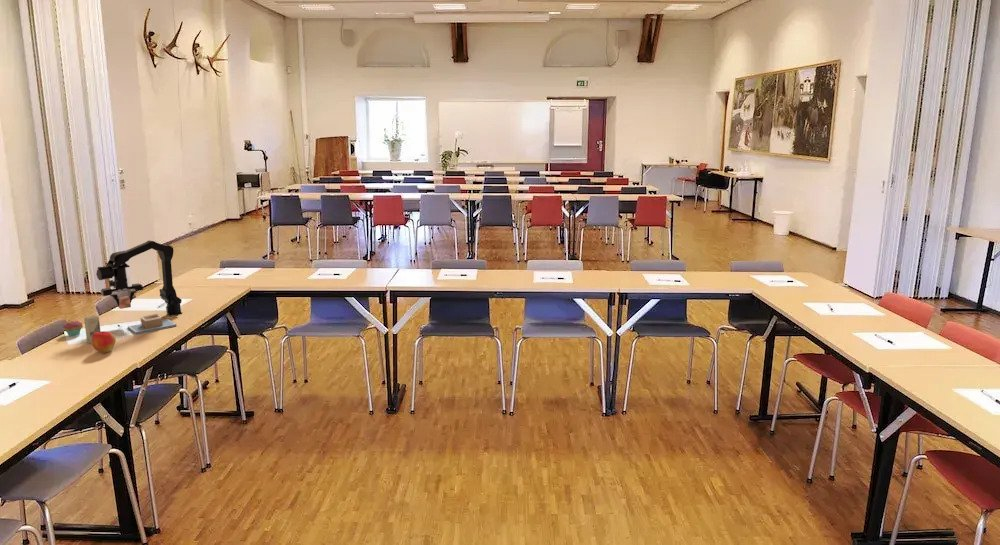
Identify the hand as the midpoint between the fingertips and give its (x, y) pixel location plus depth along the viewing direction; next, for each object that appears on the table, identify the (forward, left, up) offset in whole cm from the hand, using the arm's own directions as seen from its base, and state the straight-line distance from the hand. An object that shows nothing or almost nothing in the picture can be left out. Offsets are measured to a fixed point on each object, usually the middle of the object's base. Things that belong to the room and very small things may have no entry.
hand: (124, 305), depth 351 cm
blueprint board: (-8, +14, -11) cm, 20 cm away
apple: (+19, +40, -11) cm, 46 cm away
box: (+20, +20, -11) cm, 30 cm away
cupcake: (+25, 0, -11) cm, 27 cm away
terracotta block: (0, 0, -1) cm, 1 cm away
